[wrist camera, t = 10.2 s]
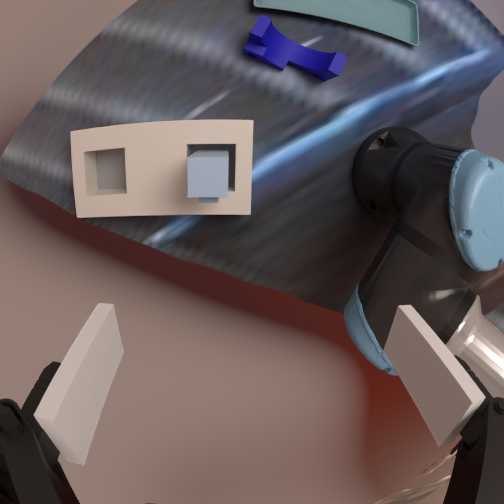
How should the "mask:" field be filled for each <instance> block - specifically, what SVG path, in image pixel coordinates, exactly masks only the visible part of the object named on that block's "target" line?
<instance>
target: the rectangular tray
mask: <svg viewBox="0 0 504 504" xmlns="http://www.w3.org/2000/svg"><path fill="white" fill-rule="evenodd" d="M253 4H254V6H255V7H262V8H271V9H278V10H285V11H291V12H297V13H302V14H307V15H312V16H317V17H322V18H327V19H331V20H335V21H339V22H343V23H347V24H351V25H354V26H358V27H361V28H365V29H368V30H371V31H375V32H378V33H381V34H384V35H387V36H390V37H392V38H395V39H398V40H401V41H403V42H406V43H408V44H411V45H413V46H419V22H418V6H417V4H416V3H415V2H413V1H411V0H254V1H253Z"/></svg>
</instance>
